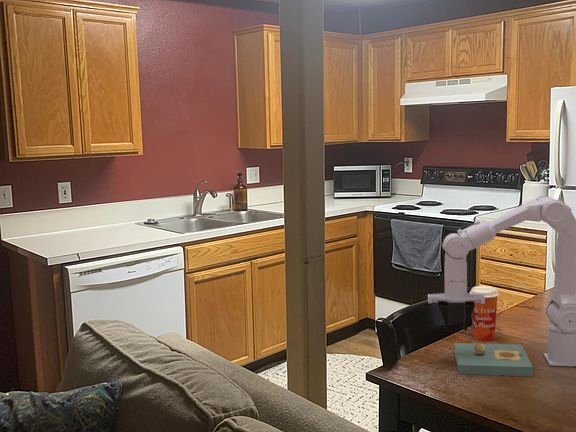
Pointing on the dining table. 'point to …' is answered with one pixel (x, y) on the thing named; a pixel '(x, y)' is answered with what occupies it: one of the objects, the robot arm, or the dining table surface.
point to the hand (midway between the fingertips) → (456, 328)
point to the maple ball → (479, 348)
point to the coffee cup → (484, 313)
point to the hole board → (493, 360)
